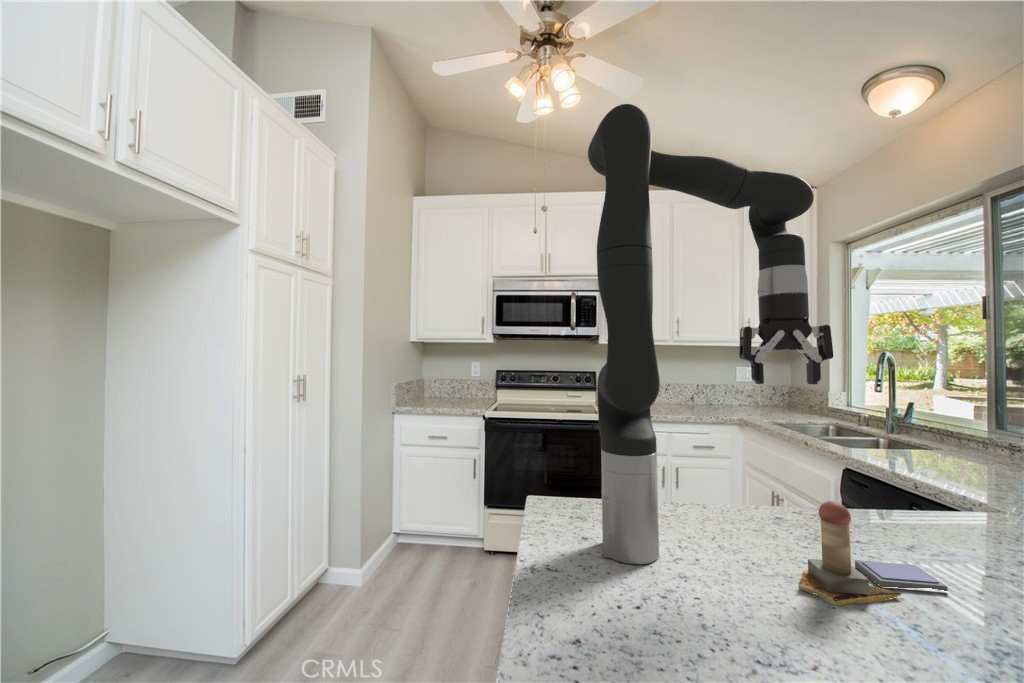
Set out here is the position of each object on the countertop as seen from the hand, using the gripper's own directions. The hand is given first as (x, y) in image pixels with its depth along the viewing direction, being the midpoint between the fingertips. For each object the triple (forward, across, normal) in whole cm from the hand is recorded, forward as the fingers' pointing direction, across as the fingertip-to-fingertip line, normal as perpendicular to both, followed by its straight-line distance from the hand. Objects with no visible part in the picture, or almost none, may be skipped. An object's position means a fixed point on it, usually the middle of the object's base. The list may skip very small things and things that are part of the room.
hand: (785, 384), depth 74 cm
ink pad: (+28, +10, -10) cm, 31 cm away
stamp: (+27, 0, -15) cm, 31 cm away
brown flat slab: (+29, 0, -14) cm, 32 cm away
